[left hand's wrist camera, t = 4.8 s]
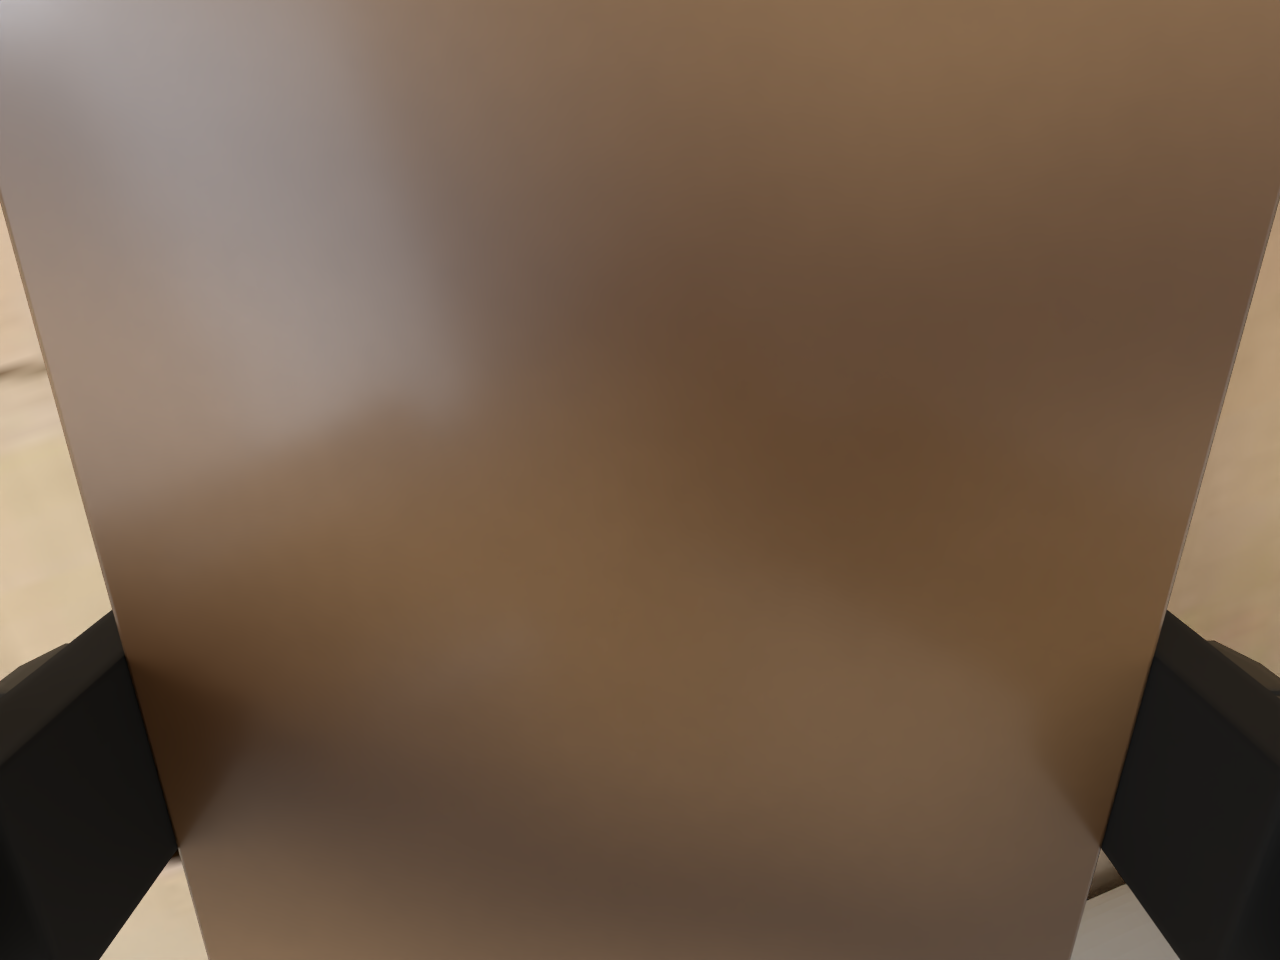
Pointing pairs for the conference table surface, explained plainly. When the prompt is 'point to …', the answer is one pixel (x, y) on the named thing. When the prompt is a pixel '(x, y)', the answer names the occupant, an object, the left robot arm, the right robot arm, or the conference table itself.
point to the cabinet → (639, 446)
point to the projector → (1119, 930)
